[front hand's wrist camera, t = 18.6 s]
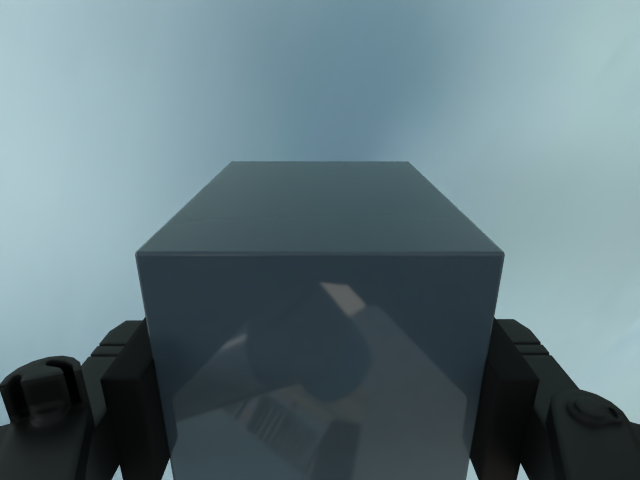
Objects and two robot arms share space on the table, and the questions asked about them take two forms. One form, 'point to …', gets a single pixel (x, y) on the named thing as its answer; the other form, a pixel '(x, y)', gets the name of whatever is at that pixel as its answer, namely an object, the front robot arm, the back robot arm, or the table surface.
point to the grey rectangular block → (319, 324)
